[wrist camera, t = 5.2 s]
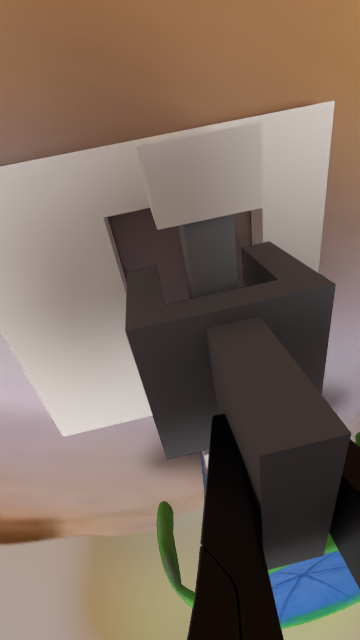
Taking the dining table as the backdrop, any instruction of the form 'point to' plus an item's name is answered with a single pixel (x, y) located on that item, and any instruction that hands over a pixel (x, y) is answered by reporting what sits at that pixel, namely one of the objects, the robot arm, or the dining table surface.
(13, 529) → the dining table surface
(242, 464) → the robot arm
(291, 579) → the snack cup
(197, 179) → the white square base
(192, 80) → the dining table surface
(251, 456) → the bracket
